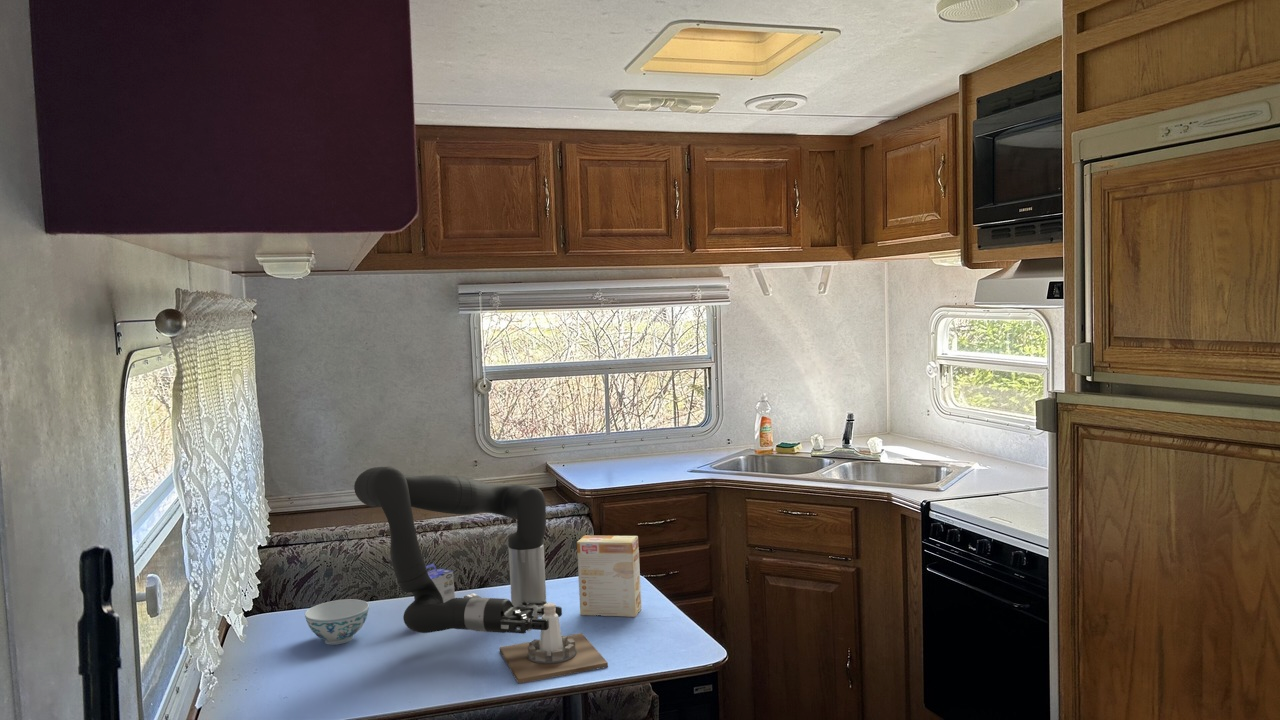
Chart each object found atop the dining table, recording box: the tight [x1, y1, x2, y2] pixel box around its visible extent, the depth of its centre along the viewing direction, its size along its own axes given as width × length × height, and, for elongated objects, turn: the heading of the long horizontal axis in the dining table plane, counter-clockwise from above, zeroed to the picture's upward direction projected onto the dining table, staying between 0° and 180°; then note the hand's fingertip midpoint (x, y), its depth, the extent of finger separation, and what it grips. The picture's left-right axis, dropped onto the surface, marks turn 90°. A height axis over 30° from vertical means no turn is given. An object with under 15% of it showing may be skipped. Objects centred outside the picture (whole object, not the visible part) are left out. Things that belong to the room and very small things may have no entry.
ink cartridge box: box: [413, 563, 456, 603], centre depth 230 cm, size 10×6×14 cm, turn 148°
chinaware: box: [304, 598, 370, 646], centre depth 219 cm, size 15×15×8 cm
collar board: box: [499, 632, 609, 684], centre depth 201 cm, size 20×20×4 cm
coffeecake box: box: [576, 535, 642, 618], centre depth 231 cm, size 15×7×20 cm, turn 77°
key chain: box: [463, 593, 483, 598], centre depth 244 cm, size 13×4×2 cm, turn 42°
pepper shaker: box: [540, 602, 564, 656], centre depth 201 cm, size 5×5×11 cm
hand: (554, 618), depth 200 cm, fingers open, 8 cm apart
